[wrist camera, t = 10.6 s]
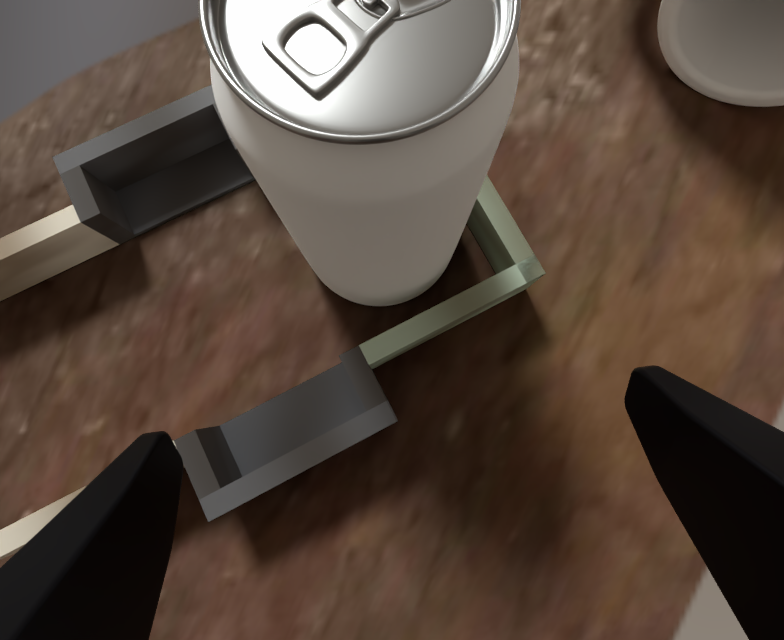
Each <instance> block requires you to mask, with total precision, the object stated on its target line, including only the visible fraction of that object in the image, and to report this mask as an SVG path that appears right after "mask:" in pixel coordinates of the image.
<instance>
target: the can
mask: <svg viewBox="0 0 784 640" xmlns="http://www.w3.org/2000/svg"><path fill="white" fill-rule="evenodd" d="M198 10H199V21H200V27H201V32H202V36H203V40H204V43H205V46H206V49H207V51H208V54H209V56H210V72H211V82H212V89H213V94H214V98H215V102H216V105H217V108H218V111H219V113H220V116H221V118H222V120H223V123H224V125H225V127H226V129H227V132H228V133H229V135H230V137H231V139H232V141H233V142H234V144H235V146H236V148H237V150H238V151H239V153H240V155H241V156H242V158H243V160H244V161H245V163H246V164H247V166H248V168H249V169H250V171H251V173H252V174H253V176H254V178H255V179H256V181H257V182H258V184H259V186H260V187H261V189H262V190H263V192H264V194H265V195H266V197H267V199H268V200H269V202H270V203H271V205H272V207H273V208H274V210H275V211H276V213H277V215H278V216H279V218H280V219H281V221H282V222H283V224H284V226H285V227H286V229H287V230H288V232H289V234H290V235H291V237H292V238H293V240H294V241H295V243H296V245H297V246H298V248H299V249H300V251H301V252H302V254H303V256H304V257H305V259H306V260H307V262H308V263H309V265H310V266H311V268H312V269H313V271H314V272H315V273H316V275H317V276H318V277H319V279H320V280H321V281H322V282H323V283H324V284H325V285H326V286H327V287H328V288H330V289H331V290H332V291H333V292H335V293H336V294H338V295H339V296H341V297H343V298H345V299H347V300H350V301H352V302H355V303H358V304H363V305H368V306H390V305H396V304H400V303H403V302H406V301H409V300H411V299H413V298H415V297H417V296H419V295H420V294H422V293H424V292H425V291H426V290H428V289H429V288H430V287H431V286H432V285H433V284H434V283H435V282H436V281H437V280H438V279H439V278H440V276H441V275H442V274H443V272H444V271H445V269H446V267H447V266H448V264H449V262H450V260H451V258H452V255H453V253H454V251H455V249H456V246H457V244H458V242H459V239H460V237H461V235H462V232H463V230H464V228H465V225H466V223H467V220H468V218H469V216H470V213H471V211H472V208H473V206H474V204H475V201H476V199H477V196H478V194H479V192H480V189H481V187H482V184H483V182H484V179H485V177H486V175H487V172H488V170H489V167H490V165H491V162H492V160H493V157H494V155H495V152H496V150H497V147H498V145H499V142H500V140H501V137H502V135H503V132H504V130H505V127H506V124H507V121H508V118H509V116H510V113H511V110H512V106H513V103H514V99H515V94H516V90H517V85H518V78H519V48H518V40H517V34H516V33H517V30H518V25H519V19H520V10H521V0H198Z"/></svg>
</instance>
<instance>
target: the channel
mask: <svg viewBox="0 0 784 640" xmlns="http://www.w3.org/2000/svg"><path fill="white" fill-rule="evenodd" d="M53 159H54V162H55V164H56V166H57V169H58V171H59V173H60V176H61V178H62V180H63V183H64V185H65V187H66V190H67V192H68V194H69V197H70V199H71V201H72V204H73V205H71V206H69V207H67V208H65V209H63V210H60V211H58V212H56V213H54V214H52V215H50V216H47V217H45V218H43V219H41V220H39V221H37V222H35V223H32V224H30V225H28V226H26V227H24V228H22V229H20V230H17V231H15V232H13V233H11V234H9V235H7V236H5V237H2V238H0V301H2V300H4V299H6V298H8V297H10V296H12V295H15V294H17V293H19V292H21V291H23V290H25V289H27V288H29V287H31V286H33V285H36V284H38V283H40V282H42V281H44V280H46V279H48V278H50V277H52V276H54V275H57V274H59V273H61V272H63V271H65V270H67V269H69V268H71V267H73V266H75V265H78V264H80V263H82V262H84V261H86V260H88V259H90V258H92V257H94V256H96V255H99V254H101V253H103V252H105V251H107V250H109V249H111V248H113V247H115V246H117V245H120V244H122V243H124V242H126V241H128V240H130V239H132V238H134V237H136V236H138V235H141V234H143V233H145V232H147V231H149V230H151V229H153V228H155V227H157V226H159V225H162V224H164V223H166V222H168V221H170V220H172V219H174V218H176V217H178V216H180V215H183V214H185V213H187V212H189V211H191V210H193V209H195V208H197V207H199V206H201V205H204V204H206V203H208V202H210V201H212V200H214V199H216V198H218V197H220V196H222V195H224V194H227V193H229V192H231V191H233V190H235V189H237V188H239V187H241V186H243V185H245V184H248V183H250V182H252V181H254V180H256V179H255V178H254V176H253V174H252V173H251V171H250V169H249V168H248V166H247V164H246V163H245V161H244V160H243V158H242V156H241V155H240V153H239V151H238V150H237V148H236V146H235V144H234V142H233V141H232V139H231V137H230V135H229V133H228V132H227V129H226V127H225V125H224V123H223V120H222V118H221V116H220V113H219V111H218V108H217V105H216V102H215V98H214V94H213V89H212V85H210V86H207V87H205V88H203V89H201V90H199V91H197V92H194V93H192V94H190V95H188V96H186V97H183V98H181V99H179V100H177V101H175V102H172V103H170V104H168V105H166V106H164V107H161V108H159V109H157V110H155V111H153V112H150V113H148V114H146V115H144V116H142V117H139V118H137V119H135V120H133V121H131V122H129V123H126V124H124V125H122V126H120V127H118V128H115V129H113V130H111V131H109V132H107V133H104V134H102V135H100V136H98V137H96V138H93V139H91V140H89V141H87V142H85V143H82V144H80V145H78V146H76V147H74V148H71V149H69V150H67V151H65V152H63V153H60V154H58V155H56V156H54V157H53ZM467 225H468V226H469V228H470V230H471V232H472V233H473V235H474V237H475V239H476V240H477V242H478V244H479V245H480V247H481V249H482V251H483V252H484V254H485V256H486V258H487V259H488V261H489V263H490V264H491V266H492V268H493V270H494V271H495V273H496V275H494V276H492V277H490V278H488V279H486V280H484V281H483V282H481V283H479V284H477V285H475V286H473V287H471V288H469V289H467V290H465V291H463V292H461V293H459V294H457V295H455V296H453V297H452V298H450V299H448V300H446V301H444V302H442V303H440V304H438V305H436V306H434V307H432V308H430V309H428V310H426V311H424V312H422V313H420V314H419V315H417V316H415V317H413V318H411V319H409V320H407V321H405V322H403V323H401V324H399V325H397V326H395V327H393V328H391V329H389V330H388V331H386V332H384V333H382V334H380V335H378V336H376V337H374V338H372V339H370V340H368V341H366V342H364V343H362V344H360V345H358V346H356V347H355V348H353V349H351V350H349V351H347V352H345V353H343V354H341V355H339V357H340V359H341V361H342V363H340V364H338V365H336V366H334V367H332V368H331V369H329V370H327V371H325V372H323V373H321V374H319V375H317V376H315V377H313V378H311V379H309V380H307V381H305V382H303V383H302V384H300V385H298V386H296V387H294V388H292V389H290V390H288V391H286V392H284V393H282V394H280V395H278V396H276V397H274V398H273V399H271V400H269V401H267V402H265V403H263V404H261V405H259V406H257V407H255V408H253V409H251V410H249V411H247V412H245V413H244V414H242V415H240V416H238V417H236V418H234V419H232V420H230V421H228V422H226V423H224V424H222V425H220V426H216V427H209V428H203V429H197V430H194V431H192V432H190V433H188V434H186V435H184V436H182V437H180V438H178V439H176V440H174V441H173V443H174V445H175V446H176V448H177V450H178V452H179V453H180V455H181V457H182V460H183V468H184V467H185V469H186V471H187V473H188V476H189V478H190V480H191V483H192V485H193V487H194V490H195V492H196V494H197V497H198V499H199V501H200V504H201V506H202V508H203V511H204V513H205V515H206V518H207V520H208V522H210V521H211V520H213V519H215V518H217V517H219V516H221V515H223V514H225V513H226V512H228V511H230V510H232V509H234V508H236V507H238V506H240V505H241V504H243V503H245V502H247V501H249V500H251V499H253V498H255V497H256V496H258V495H260V494H262V493H264V492H266V491H268V490H270V489H271V488H273V487H275V486H277V485H279V484H281V483H283V482H285V481H286V480H288V479H290V478H292V477H294V476H296V475H298V474H300V473H301V472H303V471H305V470H307V469H309V468H311V467H313V466H315V465H316V464H318V463H320V462H322V461H324V460H326V459H328V458H330V457H331V456H333V455H335V454H337V453H339V452H341V451H343V450H345V449H346V448H348V447H350V446H352V445H354V444H356V443H358V442H360V441H361V440H363V439H365V438H367V437H369V436H371V435H373V434H375V433H376V432H378V431H380V430H382V429H384V428H386V427H388V426H390V425H391V424H393V423H395V422H397V417H396V415H395V413H394V411H393V409H392V407H391V405H390V403H389V401H388V399H387V397H386V395H385V394H384V392H383V390H382V388H381V386H380V384H379V382H378V380H377V378H376V376H375V374H374V372H373V370H372V369H374V368H376V367H378V366H380V365H382V364H384V363H385V362H387V361H389V360H391V359H393V358H395V357H397V356H399V355H401V354H403V353H405V352H407V351H408V350H410V349H412V348H414V347H416V346H418V345H420V344H422V343H424V342H426V341H428V340H430V339H432V338H433V337H435V336H437V335H439V334H441V333H443V332H445V331H447V330H449V329H451V328H453V327H455V326H456V325H458V324H460V323H462V322H464V321H466V320H468V319H470V318H472V317H474V316H476V315H478V314H479V313H481V312H483V311H485V310H487V309H489V308H491V307H493V306H495V305H497V304H499V303H501V302H502V301H504V300H506V299H508V298H510V297H512V296H514V295H516V294H518V293H520V292H522V291H524V290H526V289H527V288H528V287H529V286H531V285H532V284H533V283H534V282H536V281H537V280H538V279H539V278H540V277H542V276H543V275H544V274H545V271H544V270H543V268H542V266H541V265H540V263H539V261H538V260H537V258H536V256H535V255H534V253H533V251H532V250H531V248H530V246H529V245H528V243H527V241H526V240H525V238H524V236H523V235H522V233H521V231H520V230H519V228H518V226H517V224H516V223H515V221H514V219H513V218H512V216H511V214H510V213H509V211H508V209H507V208H506V206H505V204H504V203H503V201H502V199H501V198H500V196H499V194H498V193H497V191H496V189H495V188H494V186H493V184H492V183H491V181H490V179H489V178H488V176H487V175H486V177H485V179H484V182H483V184H482V187H481V189H480V192H479V194H478V196H477V199H476V201H475V204H474V206H473V208H472V211H471V213H470V216H469V218H468V220H467ZM85 487H86V486H85ZM85 487H83V488H81V489H79V490H77V491H75V492H73V493H71V494H69V495H68V496H66V497H64V498H62V499H60V500H58V501H56V502H54V503H52V504H50V505H48V506H46V507H44V508H42V509H40V510H38V511H37V512H35V513H33V514H31V515H29V516H27V517H25V518H23V519H21V520H19V521H17V522H15V523H13V524H11V525H9V526H7V527H5V528H4V529H2V530H0V559H2V558H5V557H7V556H10V555H12V554H15V553H17V552H18V551H19V550H20V549H21V548H22V547H23V546H24V545H25V544H26V543H27V542H28V541H29V540H30V539H32V538H33V537H34V536H35V535H36V534H37V533H38V532H39V531H40V530H41V529H42V528H43V527H44V526H45V525H46V524H47V523H48V522H49V521H51V520H52V519H53V518H54V517H55V516H56V515H57V514H58V513H59V512H60V511H61V510H62V509H63V508H64V507H65V506H66V505H67V504H68V503H70V502H71V501H72V500H73V499H74V498H75V497H76V496H77V495H78V494H79V493H80V492H81V491H82V490H83V489H84V488H85Z"/></svg>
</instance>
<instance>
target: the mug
mask: <svg viewBox="0 0 784 640" xmlns="http://www.w3.org/2000/svg"><path fill="white" fill-rule="evenodd" d="M657 33H658V40H659V45H660V48H661V51H662V54H663V56H664V58H665V60H666V62H667V64H668V65H669V67H670V68H671V70H672V71H673V72H674V73H675V74H676V76H677V77H678V78H679V79H680V80H682V81H683V82H684V83H685V84H686V85H688V86H689V87H691V88H692V89H694V90H695V91H697V92H699V93H701V94H703V95H705V96H707V97H710V98H712V99H715V100H718V101H722V102H726V103H730V104H735V105H742V106H753V107H771V106H783V105H784V0H662V1H661V5H660V9H659V14H658V22H657Z"/></svg>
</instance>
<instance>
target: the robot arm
mask: <svg viewBox="0 0 784 640" xmlns="http://www.w3.org/2000/svg"><path fill="white" fill-rule="evenodd" d="M625 407H626V410H627V413H628V415H629V417H630V420H631V422H632V424H633V426H634V429H635V431H636V433H637V436H638V438H639V440H640V442H641V445H642V447H643V449H644V451H645V454H646V456H647V458H648V460H649V463H650V465H651V467H652V469H653V472H654V474H655V476H656V478H657V480H658V482H659V484H660V485H661V487H662V489H663V491H664V493H665V495H666V496H667V498H668V500H669V501H670V503H671V505H672V507H673V508H674V510H675V512H676V514H677V515H678V517H679V519H680V521H681V522H682V524H683V526H684V528H685V529H686V531H687V533H688V534H689V536H690V538H691V540H692V541H693V543H694V545H695V547H696V548H697V550H698V552H699V554H700V555H701V557H702V559H703V561H704V562H705V564H706V566H707V567H708V569H709V571H710V572H711V574H712V576H713V578H714V580H715V581H716V583H717V585H718V586H719V588H720V590H721V592H722V594H723V595H724V597H725V599H726V600H727V602H728V604H729V606H730V607H731V609H732V611H733V613H734V614H735V616H736V618H737V620H738V621H739V623H740V625H741V627H742V628H743V630H744V632H745V633H746V635H747V637H748V639H749V640H784V432H783V431H781V430H779V429H777V428H775V427H773V426H771V425H769V424H767V423H765V422H764V421H762V420H760V419H758V418H756V417H754V416H752V415H750V414H748V413H747V412H745V411H743V410H741V409H739V408H737V407H735V406H733V405H731V404H729V403H728V402H726V401H724V400H722V399H720V398H718V397H716V396H714V395H712V394H711V393H709V392H707V391H705V390H703V389H701V388H699V387H697V386H695V385H693V384H692V383H690V382H688V381H686V380H684V379H682V378H680V377H678V376H676V375H675V374H673V373H671V372H669V371H667V370H665V369H663V368H661V367H659V366H645V367H638V368H635V369H634V370H633V371H632V373H631V377H630V380H629V384H628V387H627V391H626V395H625ZM182 476H183V460H182V457H181V455H180V453H179V452H178V450H177V448H176V446H175V445H174V443H173V441H172V439H171V438H170V436H169V434H168V433H166V432H165V431H159V432H151V433H145V434H142V435H141V436H139V437H138V438H137V439H136V440H135V441H134V442H133V443H132V444H131V445H130V446H129V447H128V448H127V449H125V450H124V451H123V452H122V453H121V454H120V455H119V456H118V457H117V458H116V459H115V460H114V461H113V462H112V463H111V464H110V465H109V466H108V467H106V468H105V469H104V470H103V471H102V472H101V473H100V474H99V475H98V476H97V477H96V478H95V479H94V480H93V481H92V482H91V483H90V484H89V485H87V486H86V487H85V488H84V489H83V490H82V491H81V492H80V493H79V494H78V495H77V496H76V497H75V498H74V499H73V500H72V501H71V502H70V503H68V504H67V505H66V506H65V507H64V508H63V509H62V510H61V511H60V512H59V513H58V514H57V515H56V516H55V517H54V518H53V519H52V520H51V521H49V522H48V523H47V524H46V525H45V526H44V527H43V528H42V529H41V530H40V531H39V532H38V533H37V534H36V535H35V536H34V537H33V538H32V539H30V540H29V541H28V542H27V543H26V544H25V545H24V546H23V547H22V548H21V549H20V550H19V551H18V552H17V553H16V554H15V555H14V556H13V557H11V558H10V559H9V560H8V561H7V562H6V563H5V564H4V565H3V566H2V567H1V568H0V640H149V636H150V632H151V628H152V624H153V620H154V617H155V613H156V609H157V605H158V601H159V597H160V593H161V589H162V585H163V582H164V578H165V574H166V570H167V566H168V562H169V558H170V553H171V549H172V544H173V538H174V532H175V525H176V518H177V511H178V504H179V497H180V490H181V483H182Z"/></svg>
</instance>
